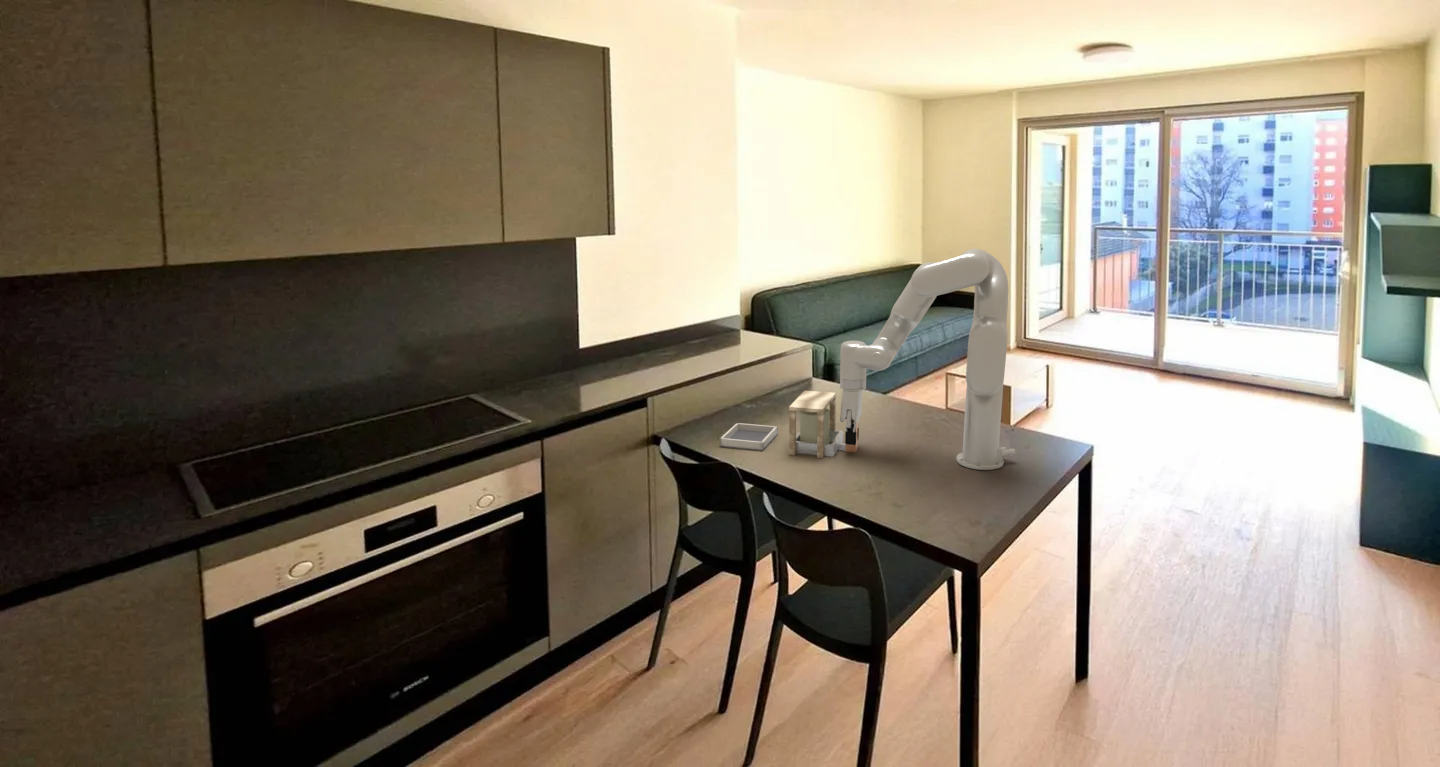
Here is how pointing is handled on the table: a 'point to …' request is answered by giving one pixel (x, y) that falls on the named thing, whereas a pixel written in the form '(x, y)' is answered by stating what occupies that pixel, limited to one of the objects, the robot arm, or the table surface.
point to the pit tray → (749, 436)
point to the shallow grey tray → (828, 448)
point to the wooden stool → (817, 403)
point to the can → (813, 426)
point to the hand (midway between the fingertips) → (851, 441)
